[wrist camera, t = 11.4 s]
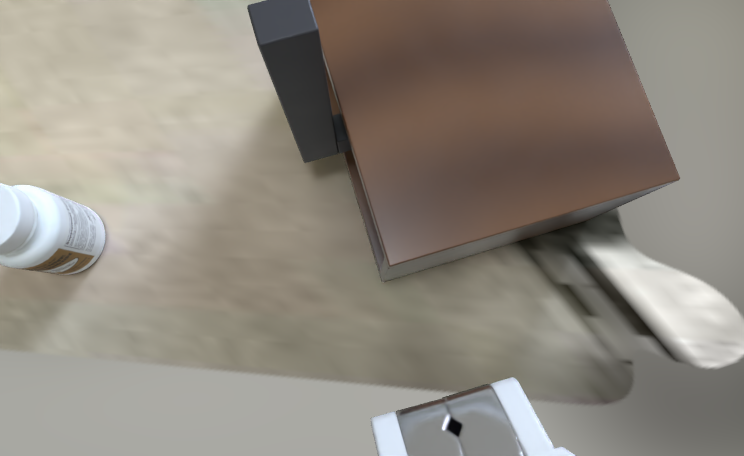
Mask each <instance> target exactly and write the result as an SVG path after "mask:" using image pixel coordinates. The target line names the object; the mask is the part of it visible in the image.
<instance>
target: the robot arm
mask: <svg viewBox="0 0 744 456" xmlns="http://www.w3.org/2000/svg"><path fill="white" fill-rule="evenodd" d="M396 415H397V416H396ZM371 426H372V430H373V435H374V439H375V444H376V448H377V452H378V456H576V455H574V454H573V453H571V452H570V451H568V450H567V449H565V448H564V447H558V448H554V446H553V444H552V443H551V441H550V439H549V437H548V435H547V433H546V431H545V430H544V428H543V426H542V424H541V422H540V420H539V419H538V417H537V415H536V413H535V411H534V409H533V408H532V406H531V404H530V402H529V400H528V398H527V397H526V395H525V393H524V391H523V389H522V387H521V386H520V384H519V382H518V381H517V380H516V379H515V378H514V377H511V378H508V379H504V380H501V381H498V382H495V383H492V384H485V385H482V386H479V387H475V388H472V389H469V390H466V391H462V392H459V393H456V394H453V395H449V396H446V397H443V398H442V399H439V400H435V401H431V402H428V403H424V404H420V405H417V406H413V407H409V408H406V409H402V410H398V411H396V413H395V411H394V412H390V413H387V414H383V415H380V416H376V417H373V418H371Z"/></svg>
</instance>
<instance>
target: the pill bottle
mask: <svg viewBox="0 0 744 456" xmlns="http://www.w3.org/2000/svg"><path fill="white" fill-rule="evenodd" d="M104 244H105V229H104V225H103V223H102V221H101V219H100V218H99V216H98V215H97V214H96V213H95V212H94V211H93V210H91V209H90V208H88V207H86V206H84V205H81V204H79V203H76V202H74V201H71V200H69V199H66V198H64V197H61V196H59V195H56V194H54V193H51V192H49V191H46V190H44V189H41V188H38V187H34V186H29V185H16V186H8V185H5V184H2V183H0V265H3V266H6V267H11V268H17V269H26V270H31V271H39V272H47V273H54V274H61V275H68V274H74V273H78V272H81V271H83V270H85V269H87V268H88V267H89V266H91V265H92V264H93V263H94V262H95V261H96V260H97V259H98V257H99V256H100V254H101V253H102V251H103V248H104Z"/></svg>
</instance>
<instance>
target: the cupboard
mask: <svg viewBox="0 0 744 456" xmlns="http://www.w3.org/2000/svg"><path fill="white" fill-rule="evenodd" d="M310 2H311V6H312V9H313V12H314V15H315V19H316V22H317V25H318V28H319V34H320V40H321V46H322V53H323V59H324V65H325V71H326V77H327V84H328V90H329V96H330V102H331V108H332V114H333V115H336V114H340V113H341V117H342V120H343V123H344V126H345V130H346V133H347V136H348V139H349V143H350V146H351V149H352V150H350V151H346V152H343V156H344V159H345V162H346V165H347V169H348V172H349V175H350V179H351V182H352V185H353V188H354V192H355V195H356V198H357V202H358V205H359V208H360V212H361V215H362V218H363V221H364V225H365V228H366V231H367V235H368V238H369V241H370V244H371V248H372V251H373V254H374V258H375V261H376V264H377V267H378V271H379V274H380V277H381V281H382V282H385V281H388V280H392V279H395V278H398V277H402V276H405V275H408V274H412V273H415V272H418V271H422V270H425V269H428V268H431V267H435V266H438V265H441V264H445V263H448V262H451V261H455V260H458V259H461V258H465V257H468V256H471V255H474V254H478V253H481V252H484V251H488V250H491V249H494V248H498V247H501V246H504V245H508V244H511V243H514V242H517V241H521V240H524V239H527V238H531V237H534V236H537V235H541V234H544V233H547V232H551V231H554V230H557V229H560V228H564V227H567V226H570V225H574V224H577V223H580V222H584V221H587V220H589V219H592V218H594V217H596V216H599V215H601V214H603V213H605V212H608V211H610V210H612V209H614V208H617V207H619V206H621V205H624V204H626V203H628V202H630V201H632V200H635V199H637V198H639V197H642V196H644V195H646V194H649V193H651V192H653V191H655V190H658V189H660V188H662V187H664V186H667V185H669V184H671V183H673V182H675V181H678V180H679V179H680V177H679V174H678V172H677V170H676V167H675V164H674V162H673V160H672V157H671V155H670V152H669V150H668V147H667V145H666V142H665V140H664V137H663V135H662V133H661V130H660V128H659V125H658V123H657V120H656V118H655V115H654V113H653V110H652V108H651V105H650V103H649V101H648V98H647V96H646V93H645V91H644V88H643V86H642V83H641V81H640V79H639V76H638V74H637V71H636V69H635V66H634V64H633V61H632V59H631V57H630V54H629V52H628V49H627V47H626V44H625V42H624V39H623V37H622V34H621V32H620V29H619V27H618V25H617V22H616V20H615V17H614V15H613V12H612V10H611V7H610V5H609V2H608V0H310Z"/></svg>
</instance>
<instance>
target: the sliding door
mask: <svg viewBox="0 0 744 456" xmlns="http://www.w3.org/2000/svg"><path fill="white" fill-rule="evenodd" d="M247 9H248V12H249V16H250V19H251V23H252V26H253V30H254V33H255V37H256V40H257V44H258V47H259V49H260V52H261V54H262V57H263V59H264V62H265V64H266V67H267V69H268V72H269V75H270V77H271V80H272V82H273V85H274V87H275V90H276V92H277V95H278V97H279V100H280V102H281V105H282V108H283V110H284V113H285V115H286V118H287V120H288V123H289V125H290V128H291V130H292V133H293V135H294V138H295V141H296V143H297V146H298V148H299V151H300V153H301V156H302V158H303V161H304V163H307V162H311V161H314V160H318V159H321V158H325V157H328V156H332V155H335V154H338V152H339V153H343V152H346V151H350V150H352V149H351V146H350V143H349V139H348V136H347V133H346V130H345V126H344V123H343V120H342V117H341V113H340V114H336V115H333V114H332V108H331V102H330V96H329V90H328V84H327V77H326V71H325V65H324V59H323V53H322V46H321V40H320V34H319V28H318V25H317V22H316V19H315V15H314V12H313V9H312V6H311V2H310V0H266V1H262V2H258V3H255V4H251V5H248V8H247Z"/></svg>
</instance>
